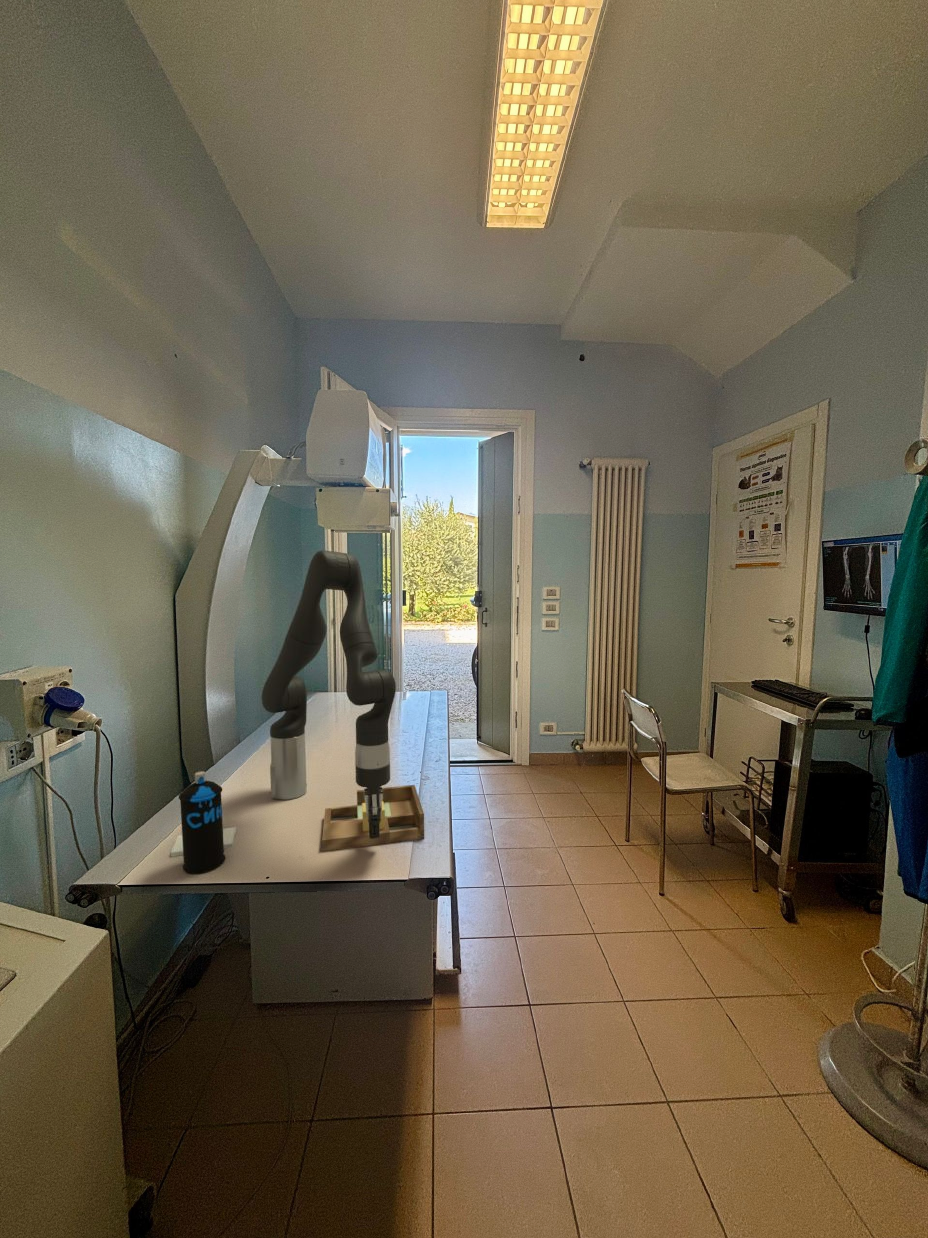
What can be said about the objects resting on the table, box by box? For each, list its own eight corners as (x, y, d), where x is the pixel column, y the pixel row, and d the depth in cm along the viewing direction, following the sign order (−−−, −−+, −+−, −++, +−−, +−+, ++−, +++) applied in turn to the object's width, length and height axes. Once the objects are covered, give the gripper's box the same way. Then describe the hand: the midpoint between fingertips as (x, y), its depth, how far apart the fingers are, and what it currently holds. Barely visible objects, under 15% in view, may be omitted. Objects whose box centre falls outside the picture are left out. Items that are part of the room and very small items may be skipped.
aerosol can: (177, 863, 108) (172, 773, 106) (217, 849, 114) (213, 763, 112) (189, 879, 102) (184, 784, 101) (231, 863, 108) (227, 773, 106)
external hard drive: (179, 841, 118) (236, 832, 122) (170, 859, 111) (232, 849, 115) (178, 834, 118) (236, 825, 122) (170, 852, 111) (232, 842, 114)
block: (363, 831, 116) (362, 812, 116) (362, 821, 121) (362, 803, 121) (385, 828, 117) (384, 810, 117) (383, 819, 122) (383, 801, 122)
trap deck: (322, 851, 113) (321, 825, 112) (325, 816, 129) (324, 793, 129) (424, 838, 118) (424, 813, 117) (414, 806, 134) (414, 784, 134)
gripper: (392, 770, 105) (393, 850, 107) (387, 749, 118) (388, 820, 119) (355, 774, 103) (357, 854, 105) (354, 752, 116) (356, 824, 118)
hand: (374, 836), depth 112 cm, fingers closed
